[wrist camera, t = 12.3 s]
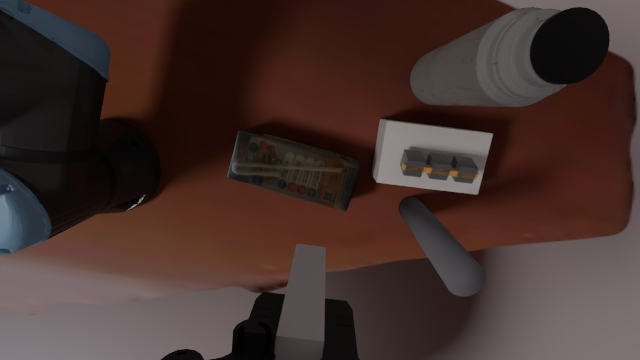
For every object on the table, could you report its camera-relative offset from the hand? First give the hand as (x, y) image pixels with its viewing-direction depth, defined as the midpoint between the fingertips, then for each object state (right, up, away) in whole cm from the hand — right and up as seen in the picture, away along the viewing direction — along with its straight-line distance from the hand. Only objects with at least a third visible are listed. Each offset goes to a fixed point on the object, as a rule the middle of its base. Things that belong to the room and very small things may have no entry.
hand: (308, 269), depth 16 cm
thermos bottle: (+18, +20, +32) cm, 42 cm away
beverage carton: (-3, +7, +36) cm, 37 cm away
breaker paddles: (+17, +8, +29) cm, 34 cm away
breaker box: (+17, +9, +35) cm, 40 cm away
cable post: (+16, 0, +37) cm, 40 cm away
